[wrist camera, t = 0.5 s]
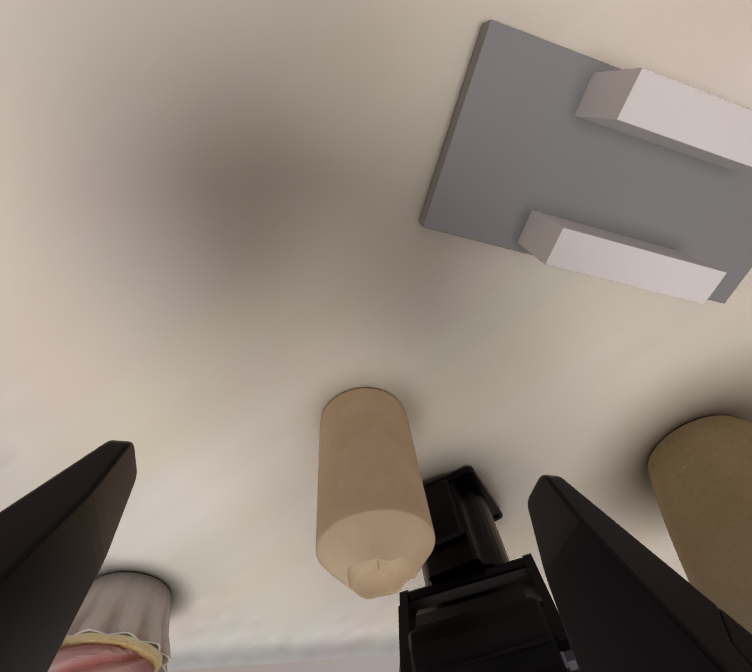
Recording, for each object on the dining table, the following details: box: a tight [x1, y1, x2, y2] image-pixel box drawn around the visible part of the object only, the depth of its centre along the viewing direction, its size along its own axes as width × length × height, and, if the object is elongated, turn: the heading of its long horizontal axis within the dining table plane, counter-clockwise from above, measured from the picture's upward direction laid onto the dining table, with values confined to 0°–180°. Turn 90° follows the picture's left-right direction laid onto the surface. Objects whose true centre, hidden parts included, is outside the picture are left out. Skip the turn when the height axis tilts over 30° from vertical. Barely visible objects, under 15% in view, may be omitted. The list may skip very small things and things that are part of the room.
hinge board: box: [419, 19, 752, 304], centre depth 18 cm, size 8×18×4 cm, turn 75°
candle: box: [316, 388, 435, 599], centre depth 22 cm, size 6×6×10 cm
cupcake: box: [48, 572, 171, 672], centre depth 29 cm, size 9×9×10 cm
